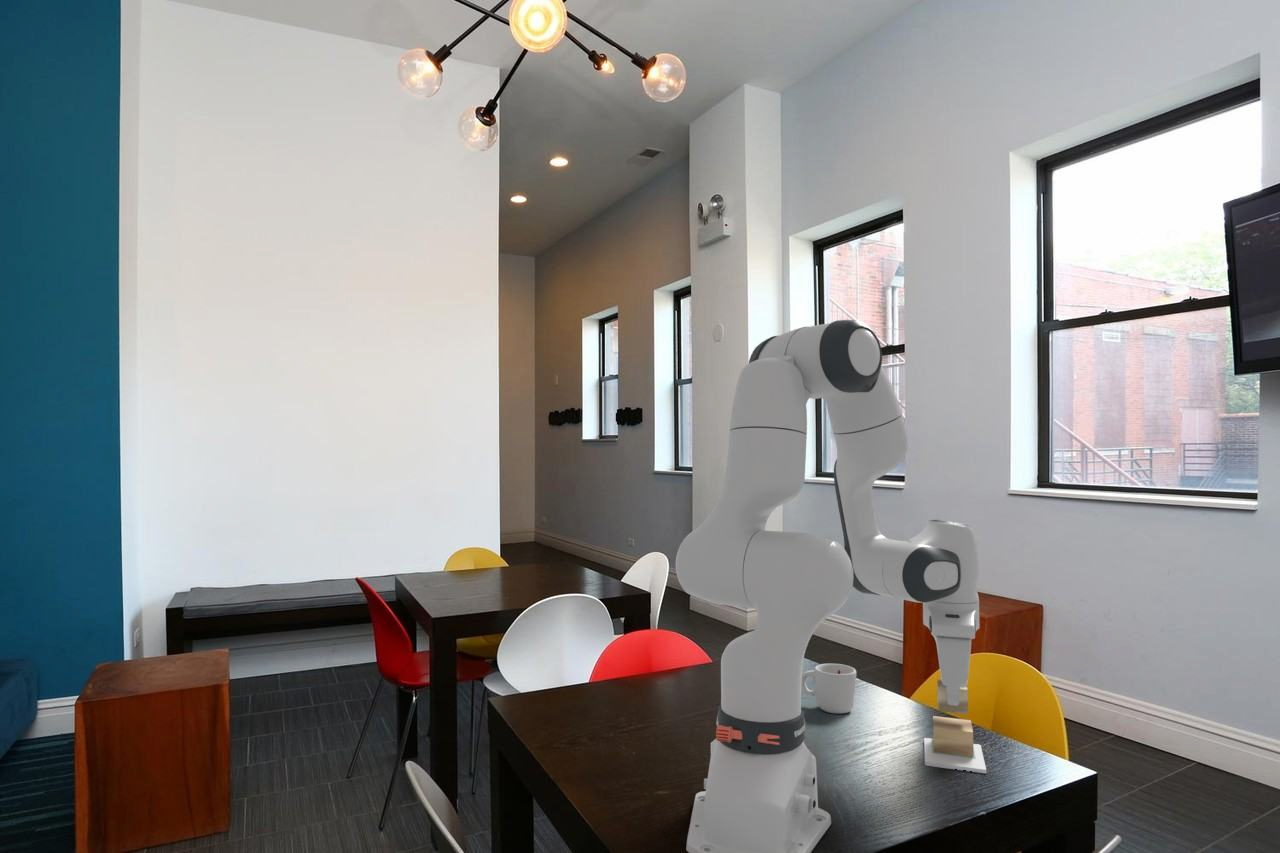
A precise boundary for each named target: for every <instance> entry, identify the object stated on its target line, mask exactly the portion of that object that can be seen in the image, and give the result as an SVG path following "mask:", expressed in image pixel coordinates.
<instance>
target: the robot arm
mask: <svg viewBox="0 0 1280 853" xmlns="http://www.w3.org/2000/svg"><path fill="white" fill-rule="evenodd" d="M881 346H882V345H881V342H880V340H879V338H878V336H877V335H876V334H875V332H874V331H873V330H872V329H871V328H870V327H869V326H868V325H867V324H866V323H864V322H863V321H860V320H855V319H839V320H834V321H832V322H830V323H822V324H818V325H817V324H816V325H812V326H801V327H798V328H796V329H792V330H789V331H787V332H784V333H782V334H780V335H773V336H771V337H769V338H766V339H765V340H763V341H762V342H760V343H758V345H756V346H755V348H754V349H753V351H752V353H751V355H750V357H749V360H748V364H746V365H745V366H744V367H743V369H742V370H741V372H740V374H739V376H738V380H737V383H736V387H735V392H734V397H733V401H732V406H731V407H732V408H731V414H730V420H729V421H730V424H729V435H728V438H729V439H728V450H727V457H726V467H725V475H724V481H723V486H722V489H721V491H720V494H719V496H718V499H717V501H716V503H715V505H714V506H713V508H712V510H711V512H710V513H709V514H708V515H707V517H706V518H705V520H703V522H702V523H701V524H700V525H699V526H698V527H697V528H696V529H694V530H692V531H691V532H689V534H687V535H686V536H685V537H684V538H683V540H682V541H681V543H680V545H679V547H678V549H677V553H676V555H675V556H676V557H675V572H676V577H677V580H678V582H679V585H680V586H681V588H682V589H683V591H684V592H685V593H687V594H688V595H690V596H693V597H695V598H698V599H700V600H702V601H703V600H704V601H707V602H709V603H711V604H715V605H724V606H731V607H738V608H746V609H752V610H753V609H754V610H756V611H757V619H756V624H755V625H756V626H755V627H754V630H752V631H747V633H743V634H742V635H740V636H738V637H736V638H734V639H733V640H732V641H730V642H729V643H728V644H727V645H726V646H725V649H724V651H723V653H722V654H721V658H720V694H721V695H720V697H721V698H720V702H721V703H720V705H719V706H718V709H717V717H716V730H715V731H716V732H715V733H716V734H715V737H716V738H715V739H713V741H711V742H710V760H709V765H708V766H709V767H708V774H707V778H703V780H702V787H703V790H705V791H699V792H696V794H695V797H694V802H693V807H692V812H691V817H690V822H689V823H690V824H689V828H688V833H687V839H686V846H685V849H686V852H688V853H812V851H813V850H814V848H815V847H816V846H817V845H818V843H819V842H820V840H821V839H822V837H823V836H824V835H825V833H826V831H827V830H828V829H829V828H830V826H831V824H832V817H831V815H830V813H829V812H828V811H826V810H824V809H822V808H820V807H819V801H818V800H819V799H818V798H819V796H818V795H819V794H818V779H817V778H818V775H817V774H818V773H817V760H816V758H817V757H816V756H815V755H814V754H813V753H812V752H811V751H810V750H809V748H808V747H807V746H806V744H805V738H806V734H805V732H806V731H805V730H806V720H805V712H804V710H803V709H802V686H801V684H802V675H803V664H804V659H805V658H804V657H805V653H806V650H807V647H808V644H809V642H810V640H811V637H812V636H813V634H814V633H815V631H816V629H817V628H818V627H819V626H820V625H821V624H822V623H823V622H824V621H825V620H826V619H827V618H829V617H830V616H831V615H832V614H835V613H836V612H837V611H839V610H840V609H841V607H843V606H844V605H845V603H846V602H847V600H848V599H849V596H850V595H851V592H852V590H853V588H854V589H855V590H857V591H858V592H860V593H862V594H867V595H876V596H877V595H878V596H883V597H889V598H893V599H896V600H897V599H898V600H903V601H909V602H913V603H922V624H923V626H925V627H927V628H928V629H929V631H930V634H931V635H932V637H933V638H934V640H935V643H936V644H935V645H936V651H937V657H938V666H939V673H940V680H942V683H943V685H945V686H946V689H947V703H948V704H949V705H954V706H958V705H959V691H960V687H966V685H968V680H969V673H970V663H971V651H972V640H973V639H975V638H976V632H977V631H978V630H979V629H980V597H979V593H978V591H977V581H978V579H979V573H980V572H979V554H978V551H979V550H978V544H977V539H976V535H975V533H974V529H973V528H972V527H971V526H969V525H967V524H966V523H963V522H958V521H951V520H945V519H944V520H943V519H930V520H927V521H926V522H925V526H924V528H923V529H922V530H921V532H919V533H918V534H917V535H915V536H913V537H912V538H909V539H907V540H904V541H903V540H898V539H889V538H888V537H887V536H885V535H883V534H882V532H881V531H880V529H879V527H878V521H877V516H876V515H877V514H876V509H875V504H874V503H875V502H874V497H873V486H874V484H875V482H876V480H878V479H880V478H882V477H883V476H885V475H886V474H889V473H890V472H891V471H893V470H894V469H896V468H897V467H898V466H899V465H900V464H901V463H902V461H903V460H904V458H905V456H906V454H907V452H908V449H909V435H908V430H907V426H906V423H905V418H904V416H903V412H902V409H901V406H900V402H899V400H898V398H897V395H896V392H895V390H894V387H893V385H892V383H891V381H890V378H889V376H888V375H887V373H886V371H885V368H884V367H883V365H882V364H883V351H882V347H881ZM809 399H816V400H817V399H818V400H819V399H823V400H824V402H825V403H826V407H827V412H828V418H829V421H830V426H831V430H832V431H833V432H832V433H833V435H834V440H835V445H836V460H835V462H834V465H833V466H834V467H833V482H834V490H835V494H836V501H837V507H838V513H839V517H840V518H839V519H840V524H841V529H842V534H843V535H842V536H843V543H844V546H842V544H841V543H840V542H838V541H837V540H833V539H829V538H825V537H823V536H820V535H815V534H811V533H807V532H794V531H792V532H791V531H776V530H766V525H767V523H768V520H769V517H770V516H771V515H772V513H773V511H775V510H776V508H778V507H780V506H782V505H784V504H787V503H788V502H790V501H792V500H794V499H795V498H796V497H797V496H798V495H799V493H800V492H801V490H802V489H803V488H804V484H805V483H806V482H805V479H806V460H807V459H806V458H807V438H808V437H807V436H808V435H807V434H808V415H807V413H808V410H807V409H808V408H807V403H808V401H809Z"/></svg>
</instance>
